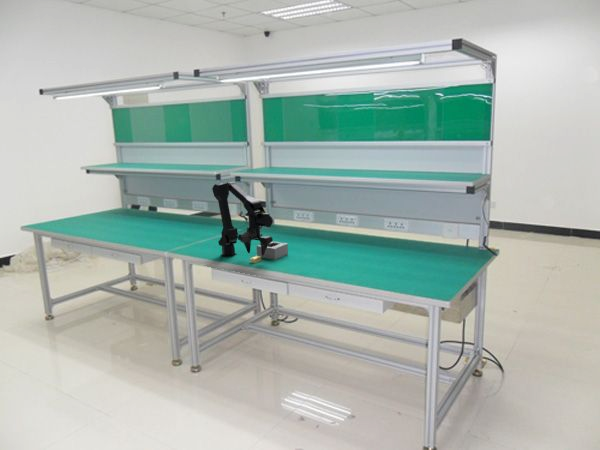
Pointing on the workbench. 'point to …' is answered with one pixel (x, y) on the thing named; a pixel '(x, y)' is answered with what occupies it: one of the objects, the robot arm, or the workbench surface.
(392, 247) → the workbench surface
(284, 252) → the slot box
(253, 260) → the tall cream wooden block
